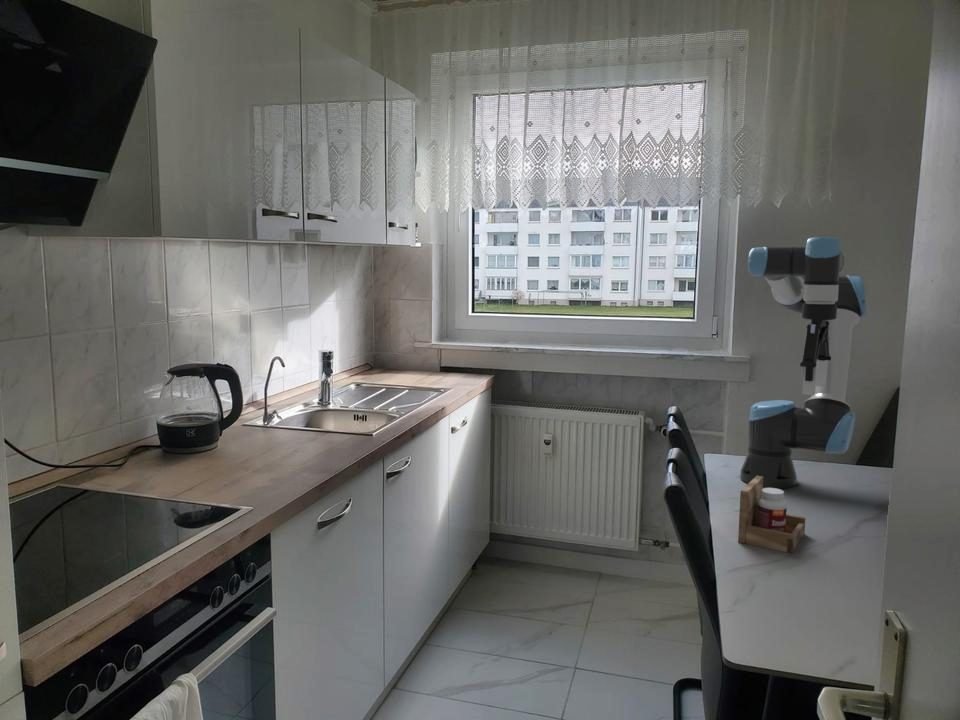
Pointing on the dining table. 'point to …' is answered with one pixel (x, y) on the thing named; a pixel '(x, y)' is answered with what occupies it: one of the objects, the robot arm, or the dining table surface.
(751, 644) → the dining table surface
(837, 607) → the dining table surface
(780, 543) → the brown wooden l-shaped frame
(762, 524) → the pill bottle
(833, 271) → the robot arm
